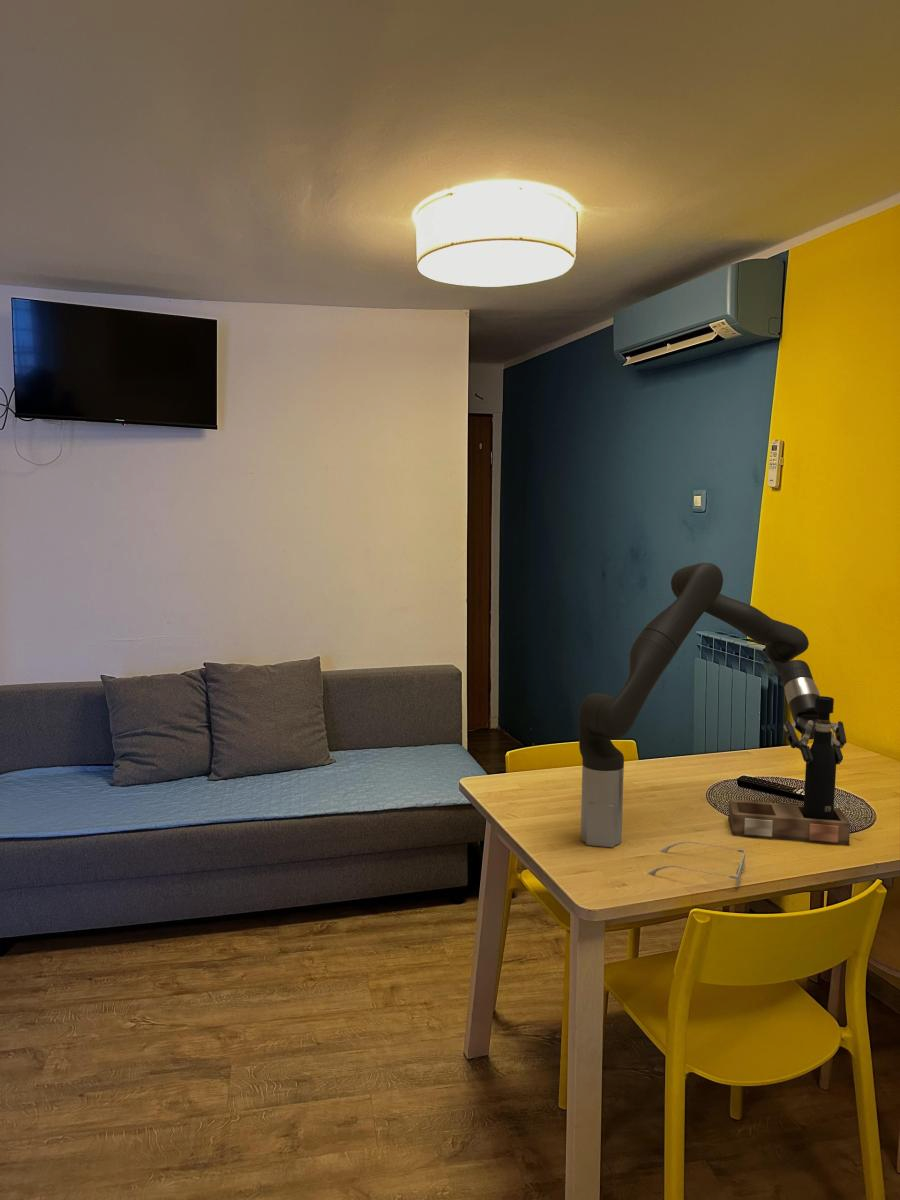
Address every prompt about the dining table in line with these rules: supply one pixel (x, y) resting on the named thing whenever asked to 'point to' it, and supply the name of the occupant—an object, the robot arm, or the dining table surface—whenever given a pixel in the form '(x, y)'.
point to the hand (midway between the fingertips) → (824, 762)
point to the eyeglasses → (739, 871)
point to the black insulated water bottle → (821, 766)
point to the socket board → (786, 823)
